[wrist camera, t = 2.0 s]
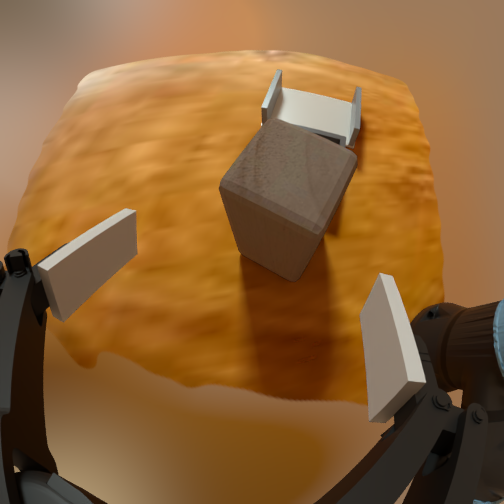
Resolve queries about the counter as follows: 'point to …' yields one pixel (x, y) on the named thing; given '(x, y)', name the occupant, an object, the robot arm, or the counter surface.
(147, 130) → the counter surface
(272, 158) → the wooden block
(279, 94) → the walled bay
